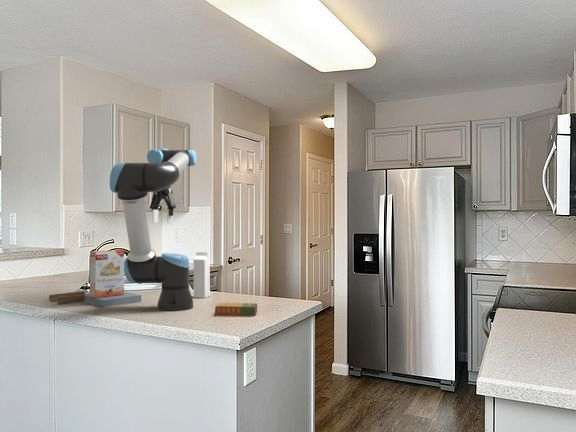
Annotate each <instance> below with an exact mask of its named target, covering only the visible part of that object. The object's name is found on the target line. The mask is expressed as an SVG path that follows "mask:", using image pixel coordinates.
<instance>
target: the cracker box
mask: <svg viewBox="0 0 576 432" xmlns="http://www.w3.org/2000/svg"><path fill="white" fill-rule="evenodd" d="M89 253H90V259H89V260H90V263H89V265H90V266H89V267H90V268H89V272H90V273H89V294H90V297H93V298H100V297H108V296H117V295H124V292H125V273H124V261H125V250H123V249H122V250H119V249H118V250H95V251H94V250H93V251H90V252H89Z"/></svg>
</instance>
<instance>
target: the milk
mask: <svg viewBox="0 0 576 432" xmlns="http://www.w3.org/2000/svg"><path fill="white" fill-rule="evenodd" d="M210 263H211V259H210V257H209V256H208V252H207V251H206V252H201V251H200V252H198V251H197V252H195V256H194V258H193V298H194V299H206V298H205V297H207V298H208V296H209V297H210V293H211V292H210V291H211V285H210V284H211V281H210V279H211V275H210V273H211V270H210V269H211V268H210V267H211V264H210ZM195 297H196V298H195ZM197 297H198V298H197Z"/></svg>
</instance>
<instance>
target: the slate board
mask: <svg viewBox="0 0 576 432" xmlns="http://www.w3.org/2000/svg"><path fill="white" fill-rule="evenodd" d="M83 302H85V303H88V304H92V305H95V306H98V307H102V308H107V307H114V306H120V305H127V304H136V303H142V295H141V294H136V293H133V292H128V291H124V295H117V296H108V297H100V298H93V297H90V295H84V301H83Z"/></svg>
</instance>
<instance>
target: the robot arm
mask: <svg viewBox="0 0 576 432" xmlns="http://www.w3.org/2000/svg"><path fill="white" fill-rule="evenodd" d="M146 159H147V161H148V162H121V163H120V162H119V163H116V164H114V165H113V167H112V168H111V170H110V175H109V188H110V190H111V192H112V193H114V194H115V193H116V195H117V199H118V200H120V201H121V202H122V207H123V214H124V220H125V221H124V222H125V226H126V233H127V239H128V246H129V251H130V252H129V253H128V254H127V256H126V258H124V277H125V278H126V280H127V281H128V282H129V283H131V284H137V285H141V284H142V285H143V284H161V292H160V295H159V298H158V301H157V308H156V309H158V310H160V311H166V312H167V311H171V312H173V311H175V312H176V311H184V310H190V309H192V308H193V307H194V301H193V296H192V293H191V291H190V261H189V259H190V258H189V257H188V256H186V255H184V254H179V253H174V252H173V253H172V252H171V253H170V252H169V253H168V252H164V253H161V255H160V256H157V254H156V251H155V250H154V249H153V248H152V245H151V238H150V232H149V224H148V216H147V210H146V209H147V208H146V203H145V200H146V198H147V196H148V193H153V194H152V197H151V201H150V206H149V208H150V209H151V211H152V223H159V206H160V204H161V201H162V200H164V202H165V203H166V206H167V210H166V212H167V217H166V220H167V223H169V224H170V223H171V224H172V223H174V209H175V208H177V204H176V201H175V197H174V194H173V189H172V188H171V186H173V185H174V184H176V182H177V181H178V179H179V178H180V175H181V173H182V172H183V171H184V170H185V169H186V168H187V167H193V166H196V165H197V153H196V151H195V150H194V149H169V148H162V147H161V148H160V147H159V148H152V149H150V150H149V151H148V152H147V155H146Z"/></svg>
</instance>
